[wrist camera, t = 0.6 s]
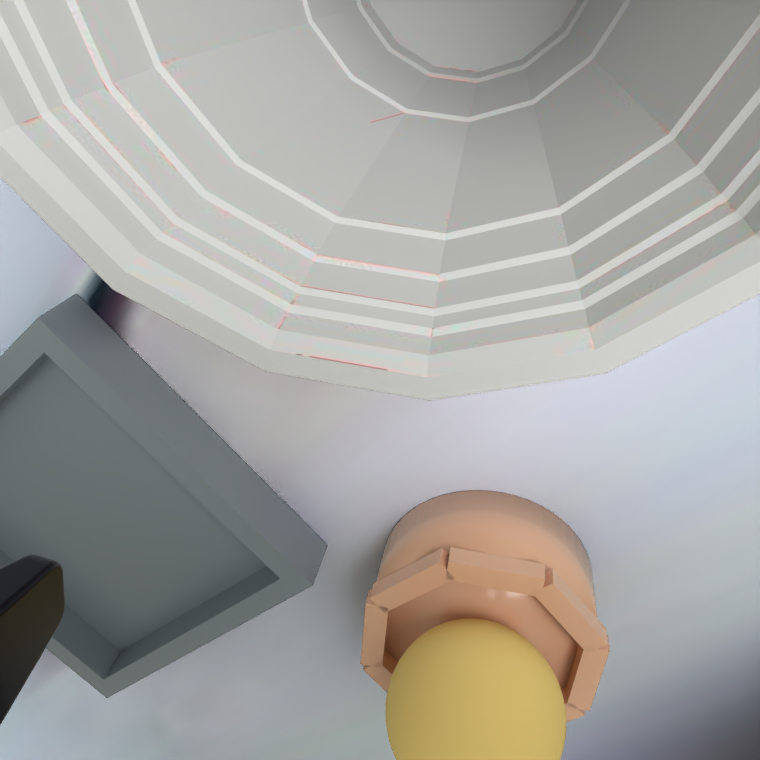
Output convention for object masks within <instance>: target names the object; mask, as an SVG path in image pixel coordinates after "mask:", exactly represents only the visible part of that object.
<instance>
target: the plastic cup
mask: <svg viewBox="0 0 760 760" xmlns="http://www.w3.org/2000/svg"><path fill="white" fill-rule="evenodd" d="M0 177H1V178H2V179H3V180H4V181H5V182H6V183H7V184H8V185H9V186H10V187H11V188H12V189H13V190H14V191H15V192H16V193H17V194H18V195H19V196H20V197H21V198H22V199H23V200H24V201H25V202H26V203H27V204H28V205H29V206H30V207H31V208H32V209H33V210H34V211H35V212H36V213H37V214H38V215H39V216H40V217H41V218H42V219H43V220H44V221H45V222H46V223H47V224H48V225H49V226H50V227H51V228H52V229H53V230H54V231H55V232H56V233H57V234H58V235H59V236H60V237H61V238H62V239H63V240H64V241H65V242H66V243H67V244H68V245H69V246H70V247H71V248H72V249H73V250H74V251H75V252H76V253H77V254H78V255H79V256H80V257H81V258H82V259H83V260H84V261H85V262H86V263H87V264H88V265H89V266H90V267H91V268H92V269H93V270H94V271H95V272H96V273H97V274H98V275H99V276H100V277H101V278H102V279H103V280H104V281H105V282H106V283H107V284H108V285H109V286H110V287H111V288H112V289H113V290H115V291H117V292H118V293H120V294H122V295H124V296H126V297H128V298H130V299H131V300H133V301H135V302H137V303H139V304H141V305H143V306H144V307H146V308H148V309H150V310H152V311H154V312H156V313H157V314H159V315H161V316H163V317H165V318H167V319H169V320H170V321H172V322H174V323H176V324H178V325H180V326H182V327H184V328H185V329H187V330H189V331H191V332H193V333H195V334H197V335H198V336H200V337H202V338H204V339H206V340H208V341H210V342H211V343H213V344H215V345H217V346H219V347H221V348H223V349H224V350H226V351H228V352H230V353H232V354H234V355H236V356H237V357H239V358H241V359H243V360H245V361H247V362H249V363H250V364H252V365H254V366H256V367H258V368H260V369H262V370H264V371H266V372H271V373H277V374H283V375H288V376H294V377H299V378H305V379H311V380H316V381H322V382H327V383H333V384H339V385H344V386H350V387H355V388H361V389H367V390H372V391H378V392H383V393H389V394H395V395H400V396H406V397H411V398H417V399H423V400H428V401H430V400H437V399H443V398H450V397H456V396H463V395H469V394H476V393H482V392H489V391H495V390H502V389H508V388H515V387H521V386H528V385H534V384H541V383H547V382H554V381H560V380H567V379H573V378H580V377H586V376H593V375H599V374H606V373H607V372H609V371H611V370H613V369H615V368H617V367H619V366H621V365H623V364H625V363H627V362H629V361H631V360H633V359H635V358H637V357H639V356H640V355H642V354H644V353H646V352H648V351H650V350H652V349H654V348H656V347H658V346H660V345H662V344H664V343H666V342H668V341H670V340H671V339H673V338H675V337H677V336H679V335H681V334H683V333H685V332H687V331H689V330H691V329H693V328H695V327H697V326H699V325H701V324H703V323H704V322H706V321H708V320H710V319H712V318H714V317H716V316H718V315H720V314H722V313H724V312H726V311H728V310H730V309H732V308H734V307H735V306H737V305H739V304H741V303H743V302H745V301H747V300H749V299H751V298H753V297H755V296H757V295H759V294H760V0H0Z"/></svg>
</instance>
